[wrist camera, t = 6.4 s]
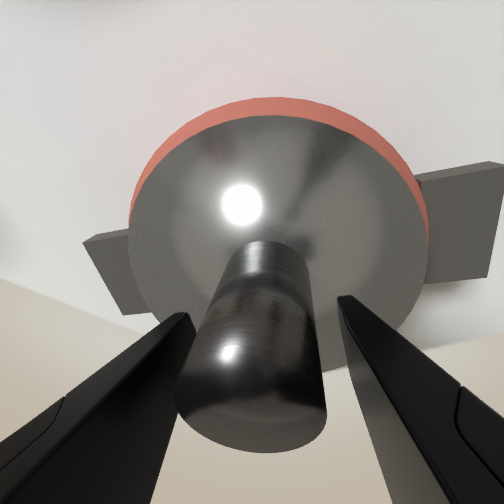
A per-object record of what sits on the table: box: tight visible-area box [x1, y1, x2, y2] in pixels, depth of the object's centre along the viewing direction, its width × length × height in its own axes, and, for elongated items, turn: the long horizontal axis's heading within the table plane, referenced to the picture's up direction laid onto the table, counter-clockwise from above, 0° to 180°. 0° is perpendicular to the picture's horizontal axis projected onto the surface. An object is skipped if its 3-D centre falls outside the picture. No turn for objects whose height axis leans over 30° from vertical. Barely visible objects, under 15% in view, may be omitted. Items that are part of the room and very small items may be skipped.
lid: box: [128, 115, 428, 453], centre depth 8 cm, size 11×11×6 cm
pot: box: [83, 97, 504, 315], centre depth 13 cm, size 17×12×5 cm
